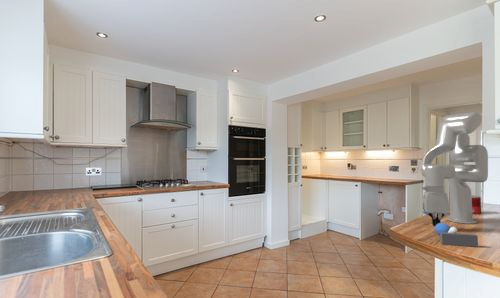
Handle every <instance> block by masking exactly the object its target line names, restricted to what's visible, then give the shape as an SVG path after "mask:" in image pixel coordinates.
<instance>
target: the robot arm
mask: <svg viewBox="0 0 500 298" xmlns="http://www.w3.org/2000/svg"><path fill="white" fill-rule="evenodd" d="M482 119H483V118H482V115H481V114H480V112H477V111H471V112H463V113H455V114H449V115H446V116H444V117H442V119H441V122H440V123H439V125H438V129H437V130H438V131H437V135H436V141H435V145H434V146H433V147H432V148H431V149H429V150H428V151H427V153H426V154H425V155H424V156H423V159H422V162H421V169H420V170H421V171H420V172H421V175H422V176H423V177H424V181H425V184H424V185H425V186H422V188H421V189H422V191H424V193H423V198H422V210H423V211H422V213H423V215H426V216H429V217H430V219H431V224H432V226H433V227H434V228H435V226H436V225H437V224H438V223H441V220H442V218H444V217H446V216H447V218H446V220H447V221H450V222H453V223H458V224H469V225H471V224H477V220H476V219H475V218H473V215H474V214H472V197H471V195H472V189H471V187H470V186H469V185H468V184H467V183H485V182H487V180H488V177H489V154H488V153H489V152H488V149H487V147H486V146H484V145H482V144H471V143H470V142H471V140H470V139H471V137H470V134H472V133H474V132H475V131H476V130H477V129H478V128H480V126H481V124H482ZM447 153H449V156H450V160H451V161H452V162H454V163H456V164H448V163H445V164H444V163H433V162H434V160H435V159H436V158H439V157H440V156H442V155H444V154H447ZM457 163H459V164H457ZM460 163H461V164H460ZM462 163H474V164H462ZM444 180H447V181H448V190H449V192H448V193H449V197H448V194H447V192H445V181H444Z"/></svg>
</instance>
